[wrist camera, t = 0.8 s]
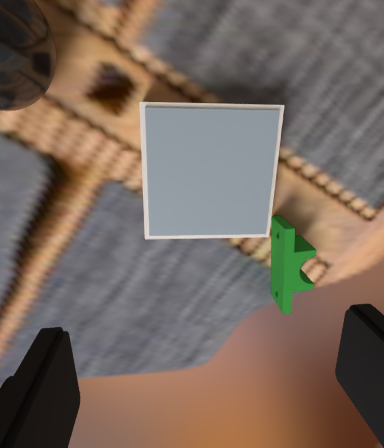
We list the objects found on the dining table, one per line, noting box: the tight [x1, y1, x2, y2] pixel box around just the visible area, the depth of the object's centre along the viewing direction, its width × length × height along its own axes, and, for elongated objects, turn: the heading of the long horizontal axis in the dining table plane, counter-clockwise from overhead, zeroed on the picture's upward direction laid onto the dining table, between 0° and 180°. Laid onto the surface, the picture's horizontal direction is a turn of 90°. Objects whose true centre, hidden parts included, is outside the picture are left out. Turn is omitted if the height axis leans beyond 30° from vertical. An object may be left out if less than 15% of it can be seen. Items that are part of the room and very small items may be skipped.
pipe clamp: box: [271, 216, 316, 314], centre depth 37 cm, size 11×4×5 cm, turn 5°
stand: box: [140, 102, 284, 239], centre depth 32 cm, size 14×14×3 cm
